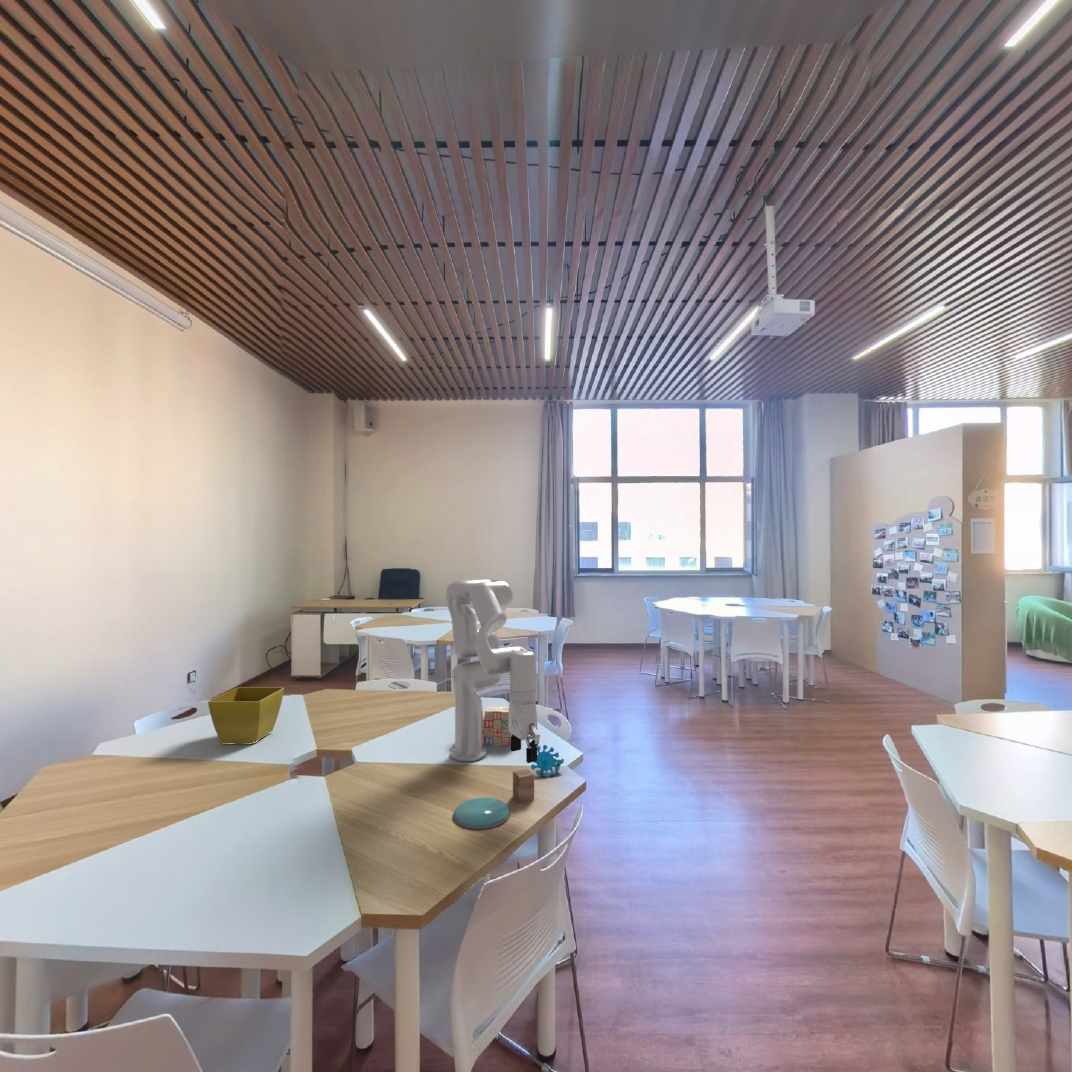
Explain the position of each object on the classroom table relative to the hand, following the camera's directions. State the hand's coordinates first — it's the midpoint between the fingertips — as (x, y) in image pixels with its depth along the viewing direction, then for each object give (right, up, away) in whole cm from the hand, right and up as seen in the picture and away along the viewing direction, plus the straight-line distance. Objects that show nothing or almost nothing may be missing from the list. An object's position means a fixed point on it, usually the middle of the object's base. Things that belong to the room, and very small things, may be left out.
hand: (523, 755), depth 148 cm
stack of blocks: (-13, -14, +43) cm, 47 cm away
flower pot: (-105, -14, +48) cm, 117 cm away
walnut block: (0, -12, 0) cm, 12 cm away
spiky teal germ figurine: (+7, -13, +17) cm, 22 cm away
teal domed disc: (-11, -12, -10) cm, 19 cm away
